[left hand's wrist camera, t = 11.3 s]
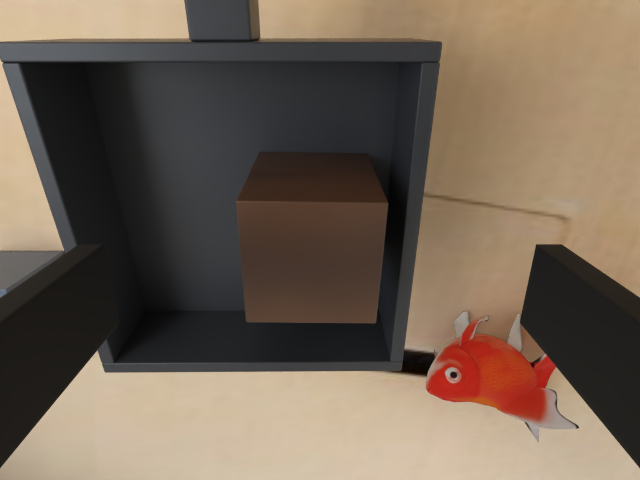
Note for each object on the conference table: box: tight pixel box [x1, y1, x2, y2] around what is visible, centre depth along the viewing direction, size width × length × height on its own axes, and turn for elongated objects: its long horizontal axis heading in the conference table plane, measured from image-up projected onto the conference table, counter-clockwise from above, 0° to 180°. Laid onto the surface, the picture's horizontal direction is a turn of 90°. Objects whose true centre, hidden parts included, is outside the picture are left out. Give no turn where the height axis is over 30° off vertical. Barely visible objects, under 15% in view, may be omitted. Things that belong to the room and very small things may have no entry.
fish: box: [426, 311, 579, 442], centre depth 29 cm, size 11×16×10 cm
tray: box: [0, 0, 442, 372], centre depth 15 cm, size 26×14×5 cm, turn 179°
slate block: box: [0, 251, 64, 298], centre depth 28 cm, size 5×5×6 cm
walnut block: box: [236, 152, 388, 323], centre depth 17 cm, size 5×5×6 cm
